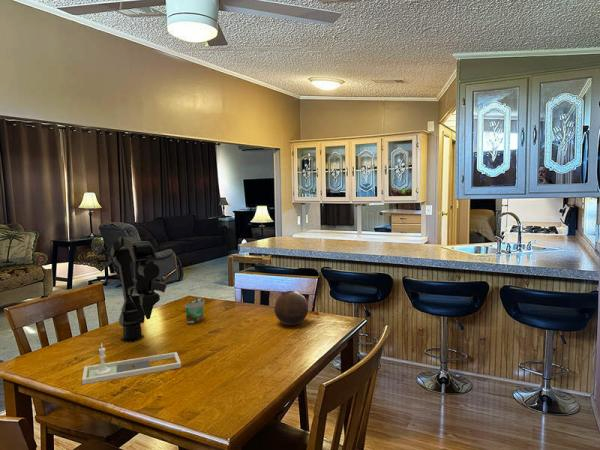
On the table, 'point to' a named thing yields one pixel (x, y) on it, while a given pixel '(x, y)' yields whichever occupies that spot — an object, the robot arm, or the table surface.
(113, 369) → the pad
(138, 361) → the trap box
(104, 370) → the chess piece
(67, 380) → the table surface
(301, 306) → the wooden sphere
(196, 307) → the food container
